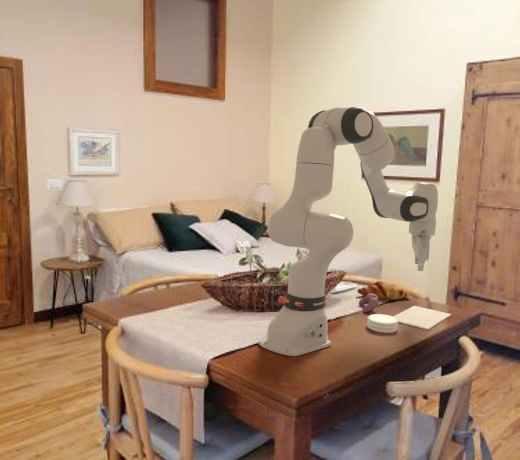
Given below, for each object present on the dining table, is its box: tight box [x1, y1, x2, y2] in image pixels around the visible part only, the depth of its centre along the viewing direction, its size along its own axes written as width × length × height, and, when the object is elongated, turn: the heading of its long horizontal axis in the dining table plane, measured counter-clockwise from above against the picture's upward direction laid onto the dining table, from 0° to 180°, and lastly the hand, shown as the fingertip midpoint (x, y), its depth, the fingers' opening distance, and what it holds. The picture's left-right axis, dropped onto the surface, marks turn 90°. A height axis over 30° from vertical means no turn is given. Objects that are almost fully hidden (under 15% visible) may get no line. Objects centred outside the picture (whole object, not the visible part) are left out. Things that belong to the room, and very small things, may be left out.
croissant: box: [357, 280, 411, 301], centre depth 206 cm, size 21×10×8 cm, turn 90°
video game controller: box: [358, 293, 380, 313], centre depth 190 cm, size 10×5×7 cm, turn 179°
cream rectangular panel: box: [393, 305, 452, 331], centre depth 182 cm, size 22×14×1 cm, turn 141°
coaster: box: [366, 313, 399, 334], centre depth 170 cm, size 10×10×4 cm
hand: (418, 267), depth 182 cm, fingers open, 8 cm apart
